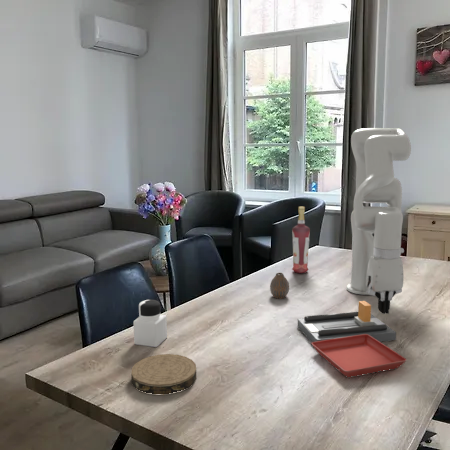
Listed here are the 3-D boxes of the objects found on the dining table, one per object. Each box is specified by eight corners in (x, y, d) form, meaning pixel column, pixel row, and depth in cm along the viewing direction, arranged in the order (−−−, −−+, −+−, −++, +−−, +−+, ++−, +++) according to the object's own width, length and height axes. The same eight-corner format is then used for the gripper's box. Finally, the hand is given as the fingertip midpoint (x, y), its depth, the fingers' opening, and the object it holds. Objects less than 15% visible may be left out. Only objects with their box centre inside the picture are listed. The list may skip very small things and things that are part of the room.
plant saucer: (309, 352, 138) (309, 341, 137) (366, 343, 143) (367, 332, 143) (344, 384, 121) (345, 371, 120) (407, 372, 126) (408, 360, 126)
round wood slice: (203, 390, 119) (203, 378, 118) (135, 401, 114) (135, 389, 114) (189, 361, 134) (188, 350, 133) (128, 369, 129) (128, 358, 129)
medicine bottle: (167, 337, 148) (166, 299, 146) (156, 347, 141) (154, 307, 139) (145, 334, 150) (144, 296, 148) (133, 344, 144) (132, 304, 141)
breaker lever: (366, 319, 153) (367, 300, 152) (374, 325, 149) (375, 305, 147) (354, 320, 153) (354, 301, 151) (361, 326, 148) (362, 306, 147)
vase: (288, 293, 186) (289, 270, 184) (289, 300, 179) (289, 276, 177) (270, 293, 187) (270, 270, 185) (269, 299, 180) (270, 276, 178)
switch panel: (369, 320, 160) (369, 307, 159) (395, 340, 144) (396, 327, 144) (297, 326, 155) (297, 313, 154) (316, 348, 140) (317, 334, 139)
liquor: (310, 274, 210) (311, 208, 204) (292, 274, 210) (293, 208, 204) (307, 269, 217) (309, 205, 211) (290, 269, 217) (291, 205, 212)
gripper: (402, 248, 153) (399, 306, 156) (357, 251, 150) (354, 309, 153) (416, 254, 146) (413, 314, 149) (369, 257, 143) (366, 318, 146)
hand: (383, 312), depth 151 cm, fingers closed
